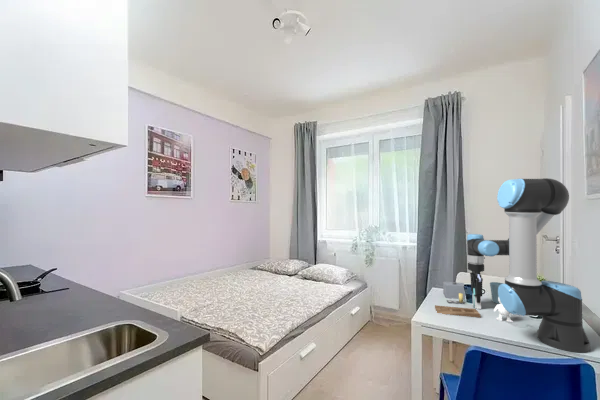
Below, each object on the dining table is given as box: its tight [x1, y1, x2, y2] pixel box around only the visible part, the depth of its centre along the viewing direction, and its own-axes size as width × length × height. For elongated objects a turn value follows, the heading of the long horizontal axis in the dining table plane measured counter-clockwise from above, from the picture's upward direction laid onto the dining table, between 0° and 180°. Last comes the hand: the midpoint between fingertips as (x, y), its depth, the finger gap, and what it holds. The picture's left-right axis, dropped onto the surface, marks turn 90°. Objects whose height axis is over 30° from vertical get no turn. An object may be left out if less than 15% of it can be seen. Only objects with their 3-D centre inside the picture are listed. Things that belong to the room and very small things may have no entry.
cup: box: [489, 281, 505, 305], centre depth 157 cm, size 8×8×10 cm
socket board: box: [434, 305, 481, 319], centre depth 142 cm, size 8×19×2 cm, turn 72°
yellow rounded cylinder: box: [446, 293, 466, 305], centre depth 157 cm, size 4×8×5 cm, turn 73°
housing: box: [442, 281, 466, 300], centre depth 168 cm, size 8×11×8 cm
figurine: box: [493, 297, 515, 323], centre depth 132 cm, size 8×5×12 cm, turn 60°
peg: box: [472, 288, 476, 309], centre depth 149 cm, size 3×3×10 cm
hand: (476, 307), depth 149 cm, fingers closed on peg, 3 cm apart
